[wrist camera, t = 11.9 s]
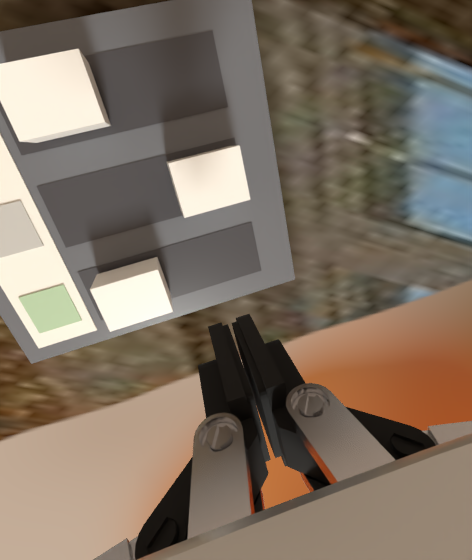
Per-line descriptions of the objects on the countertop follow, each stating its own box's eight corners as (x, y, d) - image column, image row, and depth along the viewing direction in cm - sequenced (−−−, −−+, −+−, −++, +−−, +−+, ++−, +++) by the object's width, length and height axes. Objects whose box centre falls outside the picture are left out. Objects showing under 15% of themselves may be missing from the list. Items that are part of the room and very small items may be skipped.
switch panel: (242, -2, 18) (250, -16, 17) (287, 272, 26) (295, 280, 24) (-135, 69, 16) (-167, 59, 14) (38, 351, 23) (30, 365, 22)
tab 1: (88, 62, 16) (78, 48, 14) (110, 125, 17) (104, 121, 15) (8, 78, 16) (-16, 66, 13) (37, 142, 17) (19, 141, 15)
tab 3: (229, 146, 19) (239, 145, 17) (239, 194, 21) (250, 199, 18) (166, 161, 19) (168, 163, 17) (180, 210, 20) (184, 218, 18)
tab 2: (157, 256, 21) (157, 269, 19) (171, 295, 22) (173, 311, 20) (96, 274, 20) (89, 289, 18) (114, 312, 22) (109, 331, 19)
